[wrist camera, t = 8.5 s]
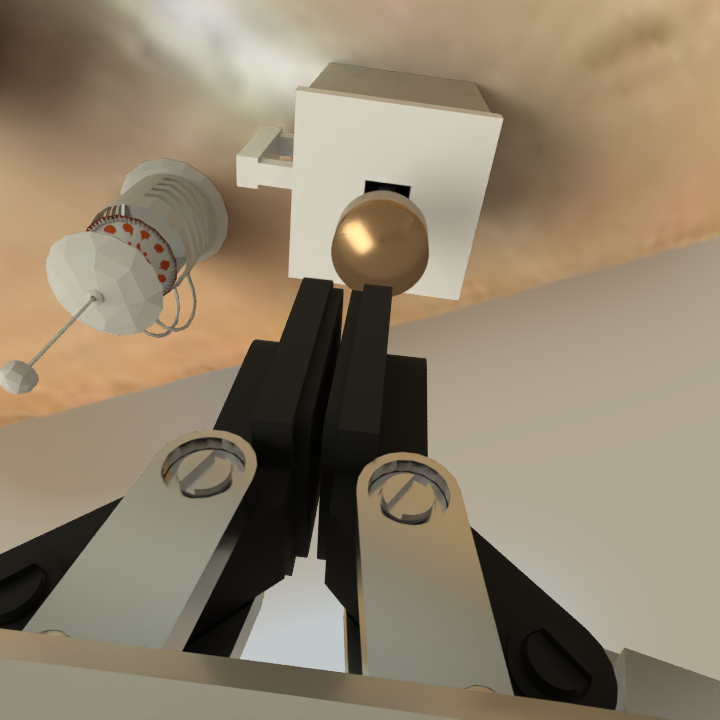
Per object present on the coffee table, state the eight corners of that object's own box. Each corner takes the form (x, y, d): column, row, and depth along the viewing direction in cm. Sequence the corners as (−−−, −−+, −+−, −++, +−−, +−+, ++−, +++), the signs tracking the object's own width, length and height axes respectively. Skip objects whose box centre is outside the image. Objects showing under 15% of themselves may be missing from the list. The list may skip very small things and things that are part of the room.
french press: (191, 140, 46) (13, 279, 25) (257, 261, 52) (157, 453, 31) (96, 182, 48) (-132, 339, 28) (170, 293, 54) (25, 488, 34)
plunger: (428, 126, 41) (437, 214, 27) (417, 192, 44) (419, 303, 30) (362, 117, 41) (335, 200, 27) (355, 184, 44) (327, 291, 30)
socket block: (479, 79, 41) (503, 118, 31) (448, 225, 48) (458, 300, 37) (271, 50, 41) (222, 79, 31) (269, 201, 48) (228, 268, 37)
